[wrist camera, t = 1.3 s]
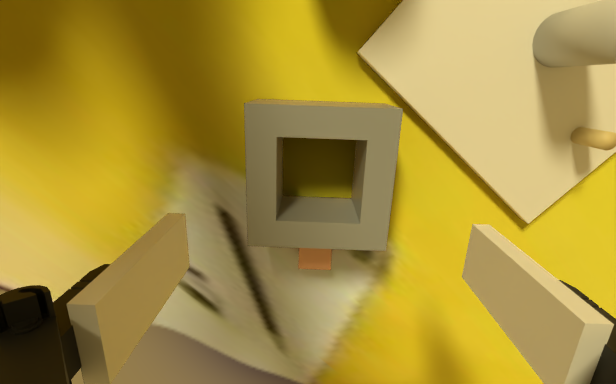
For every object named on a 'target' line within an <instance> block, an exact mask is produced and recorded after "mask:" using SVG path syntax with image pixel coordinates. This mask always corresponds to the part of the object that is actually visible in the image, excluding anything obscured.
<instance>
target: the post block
mask: <svg viewBox="0 0 616 384" xmlns="http://www.w3.org/2000/svg"><path fill="white" fill-rule="evenodd" d="M357 54H358V55H359V56H360V57H361V58H362V59H363V60H364V61H365V62H366V63H367V64H368V65H369V66H370V67H371V68H372V69H373V70H374V71H375V72H376V73H377V74H378V75H379V76H380V77H381V78H382V79H383V80H384V81H385V82H386V83H387V84H388V85H389V86H390V87H391V88H392V89H393V90H394V91H395V92H396V93H397V94H398V95H399V96H400V97H401V98H402V99H403V100H404V101H405V102H406V103H407V104H408V105H409V106H410V107H411V108H412V109H413V110H414V111H415V112H416V113H417V114H418V116H419V117H420V118H421V119H422V120H423V121H424V122H425V123H426V124H427V125H428V126H429V127H430V128H431V129H432V130H433V131H434V132H435V133H436V134H437V135H438V136H439V137H440V138H441V139H442V140H443V141H444V142H445V143H446V144H447V145H448V146H449V147H450V148H451V149H452V150H453V151H454V152H455V153H456V154H457V155H458V156H459V157H460V158H461V159H462V160H463V161H464V162H465V163H466V164H467V165H468V166H469V167H470V168H471V169H472V170H473V171H474V172H475V173H476V174H477V175H478V176H479V177H480V178H481V179H482V180H483V181H484V182H485V183H486V184H487V185H488V186H489V187H490V188H491V189H492V190H493V191H494V192H495V193H496V194H497V195H498V196H499V197H500V198H501V199H502V200H503V201H504V202H505V203H506V204H507V205H508V206H509V207H510V208H511V209H512V211H513V212H514V213H515V214H516V215H517V216H518V217H519V218H520V219H522V220H523V221H525V222H526V223H528V224H529V223H530V222H531V221H532V220H533V219H535V218H536V217H537V216H538V215H540V214H541V213H542V212H543V211H544V210H546V209H547V208H548V207H549V206H550V205H552V204H553V203H554V202H555V201H557V200H558V199H559V198H560V197H561V196H563V195H564V194H565V193H566V192H567V191H569V190H570V189H571V188H572V187H574V186H575V185H576V184H577V183H578V182H580V181H581V180H582V179H583V178H584V177H586V176H587V175H588V174H589V173H591V172H592V171H593V170H594V169H595V168H597V167H598V166H599V165H600V164H601V163H603V162H604V161H605V160H606V159H608V158H609V157H610V156H611V155H612V154H614V153H615V152H616V0H403V1H402V2H401V3H400V4H399V5H398V6H397V7H396V8H395V10H394V11H393V12H392V13H391V14H390V15H389V16H388V18H387V19H386V20H385V21H384V22H383V23H382V24H381V26H380V27H379V28H378V29H377V30H376V31H375V32H374V34H373V35H372V36H371V37H370V38H369V39H368V40H367V42H366V43H365V44H364V45H363V46H362V47H361V48H360V50H359V51H358V52H357Z"/></svg>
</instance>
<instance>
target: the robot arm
mask: <svg viewBox="0 0 616 384" xmlns="http://www.w3.org/2000/svg"><path fill="white" fill-rule="evenodd" d="M189 267H190V266H189V254H188V243H187V231H186V219H185V214H180V213H168V214H167V215H166V216H164V217H163V218H162V219H161V220H160V221H159V222H158V223H157V224H156V225H154V226H153V227H152V228H151V229H150V230H149V231H148V232H147V233H145V234H144V235H143V236H142V237H141V238H140V239H139V240H138V241H136V242H135V243H134V244H133V245H132V246H131V247H130V248H129V249H128V250H126V251H125V252H124V253H123V254H122V255H121V256H120V257H119V258H117V259H116V260H115V261H114V262H113V263H112V264H104V265H102V266H100V267H98V268H96V269H94V270H92V271H90V272H89V273H88V274H87V275H85V276H84V277H83V278H82V279H81V280H80V282H77V283H76V284H75V285H73V286H72V287H71V289H69V290H68V291H66V292H65V293H64V294H63V295H62V296H60V297H59V298H58V299H57V300H56V301H54V302H52V298H51V293H50V290H49V289H48V288H47V287H44V286H40V285H37V286H26V287H21V288H17V289H14V290H11V291H8V292H5V293H3V294H1V295H0V384H72V382H71V379H72V378H73V376H74V375H75V374H76V373H77V372H78V370H79V369H80V368H81V371H82V376H83V380H84V383H85V384H111V383H112V381H113V380H114V378H115V377H116V375H117V374H118V372H119V371H120V369H121V368H122V366H123V365H124V363H125V362H126V360H127V359H128V357H129V356H130V354H131V353H132V351H133V350H134V349H135V347H136V346H137V344H138V342H139V341H140V339H141V338H142V337H143V335H144V334H145V332H146V331H147V329H148V328H149V326H150V325H151V323H152V322H153V320H154V319H155V317H156V316H157V314H158V313H159V312H160V310H161V309H162V307H163V306H164V304H165V303H166V301H167V300H168V298H169V297H170V295H171V294H172V292H173V291H174V289H175V288H176V286H177V285H178V283H179V282H180V280H181V279H182V277H183V276H184V274H185V273H186V271H187V270H188V269H189ZM462 278H463V279H464V280H465V282H466V283H467V284H468V285H469V287H470V288H471V289H472V291H473V292H474V293H475V295H476V296H477V297H478V298H479V300H480V301H481V302H482V304H483V305H484V306H485V308H486V309H487V310H488V311H489V313H490V314H491V315H492V317H493V318H494V319H495V321H496V322H497V323H498V324H499V326H500V327H501V328H502V330H503V331H504V332H505V334H506V335H507V336H508V337H509V339H510V340H511V341H512V343H513V344H514V345H515V346H516V348H517V349H518V350H519V352H520V353H521V354H522V356H523V357H524V358H525V359H526V361H527V362H528V363H529V365H530V366H531V367H532V369H533V370H534V371H535V372H536V374H537V375H538V376H539V378H540V379H541V380H542V382H543V383H544V384H616V319H615V318H614V317H612V316H611V315H610V314H609V313H607V312H606V311H605V310H603V309H602V308H599V306H598V305H597V304H596V303H594V302H593V301H592V300H589V298H588V297H587V296H585V295H584V294H583V293H582V292H580V291H579V290H578V289H576V288H575V287H573V286H571V285H569V284H567V283H565V282H563V281H561V280H558V279H556V278H555V277H554V276H553V275H551V274H550V273H549V272H548V271H546V270H545V269H544V268H543V267H541V266H540V265H539V264H538V263H536V262H535V261H534V260H533V259H531V258H530V257H529V256H528V255H526V254H525V253H524V252H523V251H522V250H520V249H519V248H518V247H517V246H515V245H514V244H513V243H512V242H510V241H509V240H508V239H507V238H505V237H504V236H503V235H502V234H500V233H499V232H498V231H497V230H495V229H494V228H493V227H492V226H490V225H481V224H472V229H471V234H470V239H469V244H468V249H467V254H466V259H465V264H464V269H463V274H462Z"/></svg>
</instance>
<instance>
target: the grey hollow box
mask: <svg viewBox="0 0 616 384" xmlns="http://www.w3.org/2000/svg"><path fill="white" fill-rule="evenodd" d="M244 112H245V154H246V196H247V237H248V246H263V247H290V248H299V265H298V269H323V270H331V255H332V249H345V250H372V251H386V246H387V238H388V229H389V221H390V213H391V204H392V196H393V188H394V179H395V171H396V163H397V155H398V146H399V138H400V130H401V121H402V113H403V109H401V108H398V107H394V106H391V105H388V104H380V103H353V102H325V101H298V100H271V99H256V100H253V101H250V102H247V103H244ZM283 137H293V138H320V139H347V140H356V147H355V159H354V172H353V184H352V197H351V198H328V197H300V196H283Z"/></svg>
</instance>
